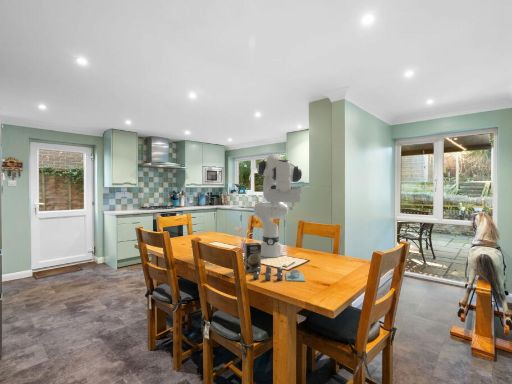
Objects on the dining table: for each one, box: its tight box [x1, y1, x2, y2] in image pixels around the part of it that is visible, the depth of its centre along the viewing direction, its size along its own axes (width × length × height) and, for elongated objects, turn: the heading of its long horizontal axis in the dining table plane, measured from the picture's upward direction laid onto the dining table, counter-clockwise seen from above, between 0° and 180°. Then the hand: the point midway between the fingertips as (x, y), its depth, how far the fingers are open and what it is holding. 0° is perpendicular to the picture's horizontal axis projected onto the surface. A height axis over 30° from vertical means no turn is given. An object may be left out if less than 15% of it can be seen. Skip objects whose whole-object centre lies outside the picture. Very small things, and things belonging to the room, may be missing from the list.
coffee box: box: [243, 242, 262, 273], centre depth 159 cm, size 9×6×16 cm
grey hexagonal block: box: [289, 269, 301, 278], centre depth 147 cm, size 6×5×3 cm
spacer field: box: [252, 265, 284, 282], centre depth 148 cm, size 15×16×4 cm
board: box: [285, 272, 306, 283], centre depth 147 cm, size 12×10×1 cm
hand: (283, 209), depth 156 cm, fingers open, 8 cm apart
